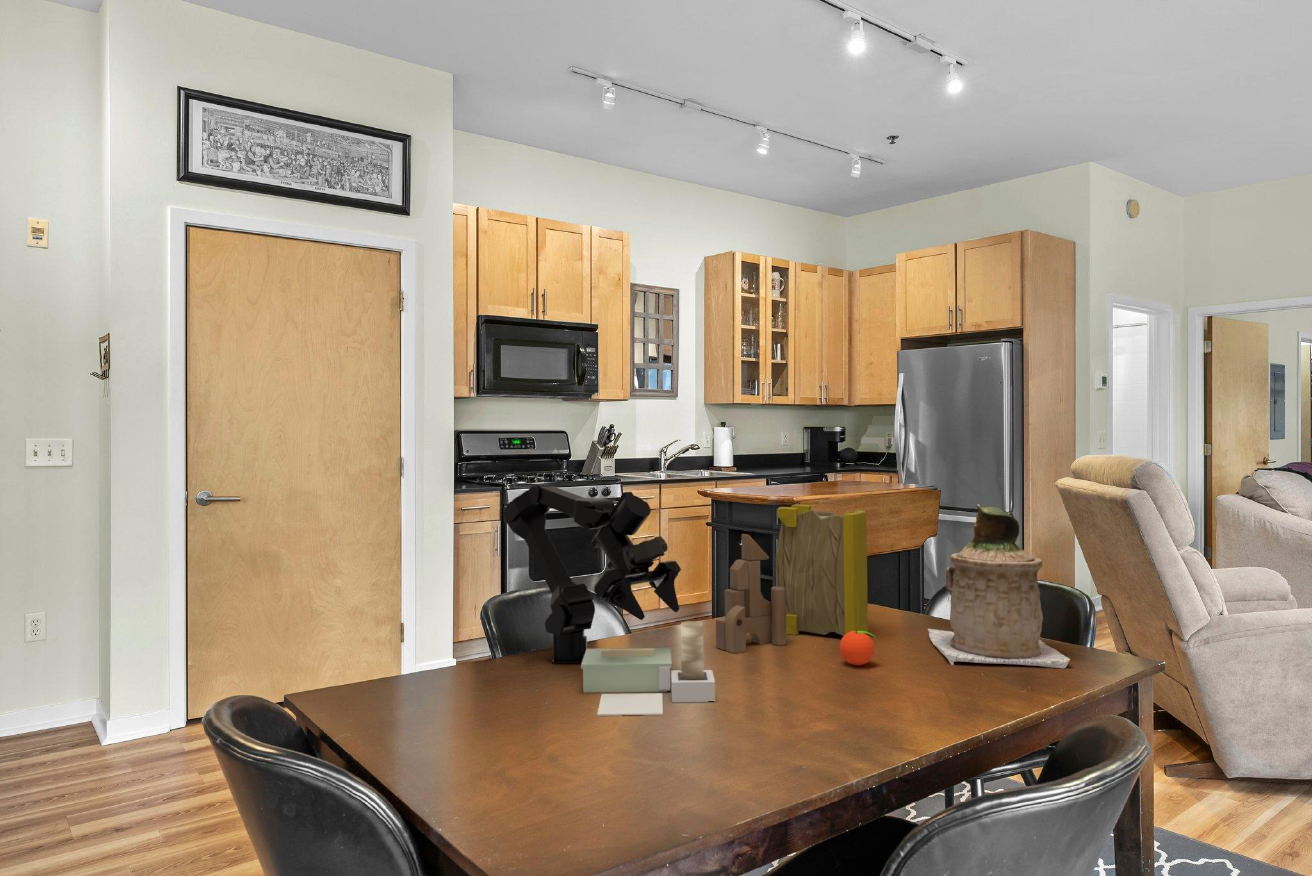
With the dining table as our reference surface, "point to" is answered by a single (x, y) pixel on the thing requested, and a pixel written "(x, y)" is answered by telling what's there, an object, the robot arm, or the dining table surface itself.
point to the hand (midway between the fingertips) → (660, 614)
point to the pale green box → (642, 674)
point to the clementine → (857, 647)
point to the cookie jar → (995, 599)
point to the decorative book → (823, 570)
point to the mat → (630, 704)
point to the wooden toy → (750, 605)
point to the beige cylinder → (692, 650)
